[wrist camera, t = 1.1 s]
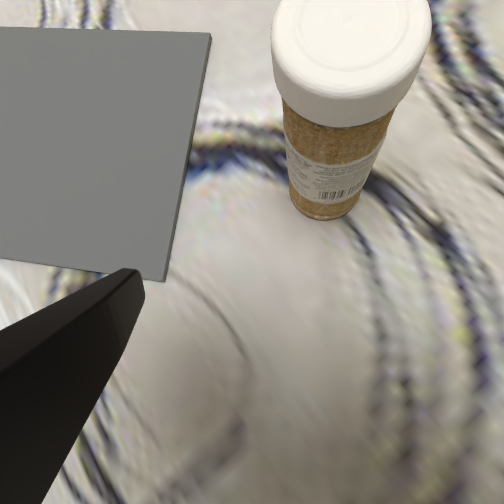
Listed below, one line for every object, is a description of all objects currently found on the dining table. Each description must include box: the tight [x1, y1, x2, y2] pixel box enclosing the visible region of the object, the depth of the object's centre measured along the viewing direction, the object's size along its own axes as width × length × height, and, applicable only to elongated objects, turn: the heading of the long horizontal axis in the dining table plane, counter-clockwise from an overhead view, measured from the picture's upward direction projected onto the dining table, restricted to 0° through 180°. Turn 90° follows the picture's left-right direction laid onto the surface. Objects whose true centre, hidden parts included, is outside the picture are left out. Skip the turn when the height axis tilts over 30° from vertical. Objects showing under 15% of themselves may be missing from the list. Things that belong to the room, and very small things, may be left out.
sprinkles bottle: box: [271, 0, 431, 220], centre depth 17 cm, size 5×5×14 cm
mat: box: [0, 27, 212, 282], centre depth 26 cm, size 18×18×1 cm
